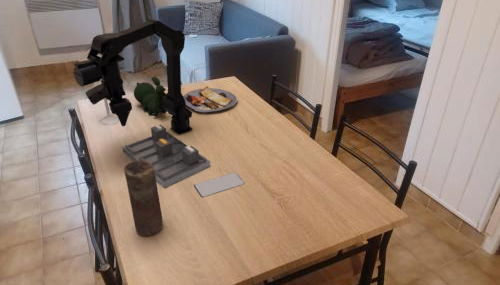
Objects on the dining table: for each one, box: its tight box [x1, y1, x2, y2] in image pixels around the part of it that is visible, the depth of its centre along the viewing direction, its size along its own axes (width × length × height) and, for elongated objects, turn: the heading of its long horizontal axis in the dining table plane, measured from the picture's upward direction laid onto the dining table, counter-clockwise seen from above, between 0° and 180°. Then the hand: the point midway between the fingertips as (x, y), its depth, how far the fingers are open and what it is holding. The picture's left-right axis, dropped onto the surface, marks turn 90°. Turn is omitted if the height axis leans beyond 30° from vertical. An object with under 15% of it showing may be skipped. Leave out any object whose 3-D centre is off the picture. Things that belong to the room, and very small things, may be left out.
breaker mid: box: [155, 139, 173, 158], centre depth 126 cm, size 4×4×5 cm
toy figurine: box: [133, 76, 167, 117], centre depth 157 cm, size 9×19×25 cm
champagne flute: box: [93, 79, 119, 125], centre depth 146 cm, size 7×7×24 cm
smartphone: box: [193, 172, 245, 198], centre depth 117 cm, size 7×1×15 cm
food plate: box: [183, 86, 238, 113], centre depth 168 cm, size 25×23×4 cm
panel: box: [121, 130, 211, 189], centre depth 128 cm, size 18×28×3 cm, turn 43°
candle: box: [123, 160, 164, 237], centre depth 95 cm, size 8×7×20 cm
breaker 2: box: [182, 145, 200, 166], centre depth 123 cm, size 4×4×5 cm
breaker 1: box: [150, 124, 168, 142], centre depth 135 cm, size 4×4×5 cm
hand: (120, 120), depth 124 cm, fingers open, 9 cm apart
